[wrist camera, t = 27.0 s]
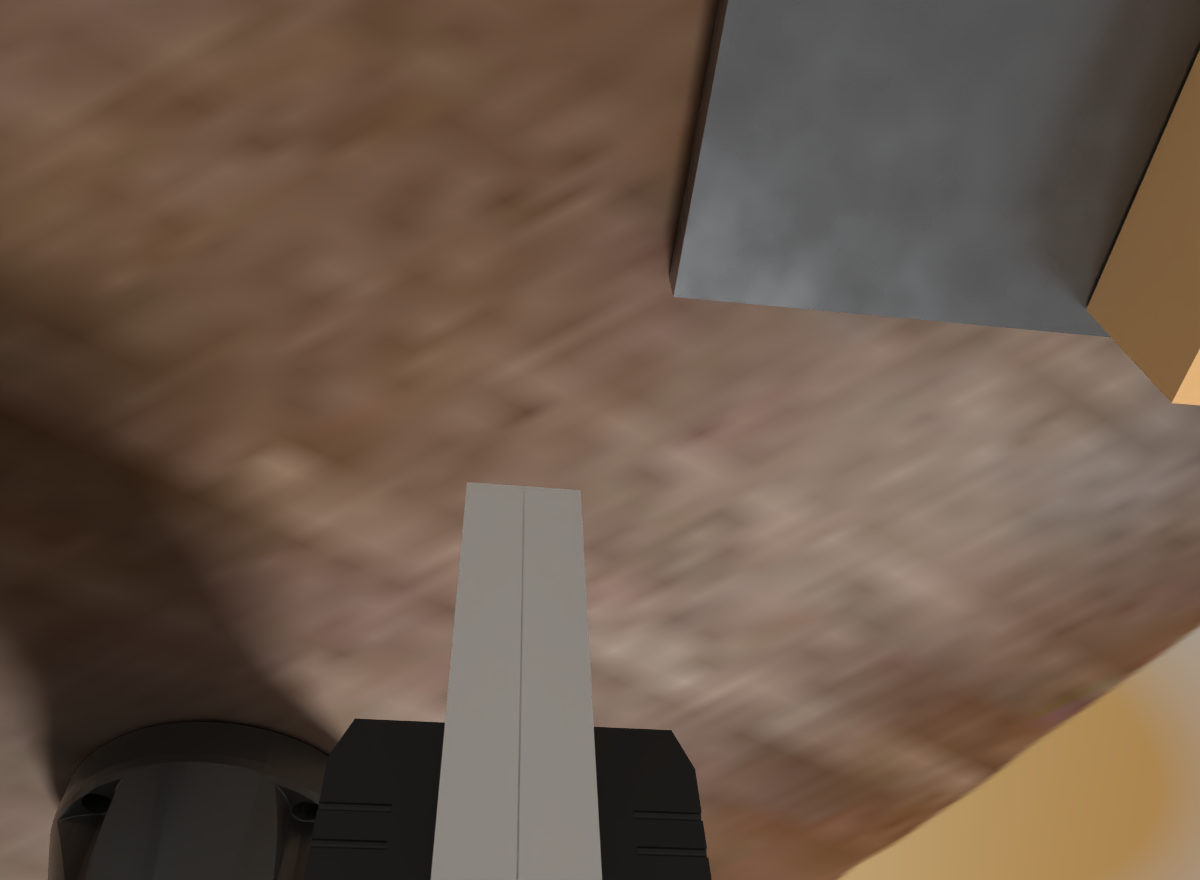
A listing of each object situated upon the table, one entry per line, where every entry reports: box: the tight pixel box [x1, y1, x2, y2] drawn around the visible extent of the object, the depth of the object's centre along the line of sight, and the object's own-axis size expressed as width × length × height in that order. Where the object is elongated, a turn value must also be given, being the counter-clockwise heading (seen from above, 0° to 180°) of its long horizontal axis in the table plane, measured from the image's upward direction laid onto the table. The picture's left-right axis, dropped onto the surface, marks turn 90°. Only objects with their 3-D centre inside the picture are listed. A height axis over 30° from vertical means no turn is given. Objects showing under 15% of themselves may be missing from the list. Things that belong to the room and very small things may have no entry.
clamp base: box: [669, 0, 1200, 337], centre depth 31 cm, size 16×25×8 cm, turn 83°
